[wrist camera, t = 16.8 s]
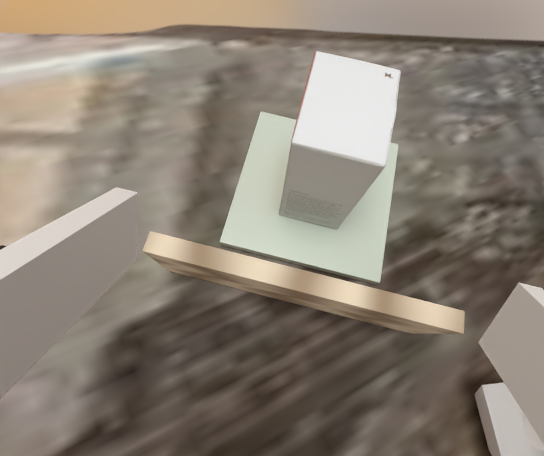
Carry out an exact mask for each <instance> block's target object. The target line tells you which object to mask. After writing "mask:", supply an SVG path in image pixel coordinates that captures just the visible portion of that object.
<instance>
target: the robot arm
mask: <svg viewBox="0 0 544 456" xmlns="http://www.w3.org/2000/svg"><path fill="white" fill-rule="evenodd" d="M137 224H138V192H133V191H129V190H125V189H121V188H117V187H116V188H114V189H113V190H111V191H109V192H107V193H105V194H103V195H101V196H99V197H98V198H96V199H94V200H92V201H90V202H88V203H86V204H85V205H83V206H81V207H79V208H77V209H75V210H73V211H72V212H70V213H68V214H66V215H64V216H62V217H60V218H58V219H57V220H55V221H53V222H51V223H49V224H47V225H45V226H44V227H42V228H40V229H38V230H36V231H34V232H32V233H31V234H29V235H27V236H25V237H23V238H21V239H19V240H18V241H16V242H14V243H12V244H10V245H8V246H3V245H2V246H0V399H1V398H2V397H3V396H4V395H5V394H6V393H7V392H8V391H9V390H10V388H11V387H12V386H13V385H14V384H15V383H16V382H17V381H18V380H19V379H20V378H21V377H22V376H23V375H24V374H25V373H26V372H27V371H28V370H29V369H30V368H31V367H32V366H33V365H34V364H35V363H36V362H37V361H38V360H39V359H40V358H41V357H42V356H43V355H44V354H45V353H46V352H47V351H48V350H49V349H50V348H51V347H52V346H53V345H54V344H55V343H56V342H57V341H58V340H59V339H60V338H61V337H62V336H63V335H64V334H65V333H66V332H67V331H68V330H69V329H70V328H71V327H72V326H73V325H74V324H75V323H76V322H77V320H78V319H79V318H80V317H81V316H82V315H83V314H84V313H85V312H86V311H87V310H88V309H89V308H90V307H91V306H92V305H93V304H94V303H95V302H96V301H97V300H98V299H99V298H100V297H101V296H102V295H103V294H104V293H105V292H106V291H107V290H108V289H109V288H110V287H111V286H112V285H113V284H114V283H115V282H116V281H117V280H118V279H119V278H120V277H121V276H122V275H123V274H124V273H125V272H126V271H127V270H128V269H129V268H130V267H131V266H132V265H133V264H134V263H135V262H136V261H137ZM479 344H480V346H481V347H482V349H483V350H484V352H485V353H486V355H487V357H488V358H489V360H490V361H491V363H492V364H493V366H494V368H495V369H496V371H497V372H498V374H499V375H500V377H501V378H502V380H503V382H504V383H505V385H506V386H507V388H508V389H509V391H510V393H511V394H512V396H513V397H514V399H515V400H516V402H517V403H518V405H519V407H520V408H521V410H522V411H523V413H524V414H525V416H526V418H527V419H528V421H529V422H530V424H531V425H532V427H533V428H534V430H535V432H536V433H537V435H538V436H539V438H540V439H541V441H542V443H543V444H544V290H543V289H542V288H539V287H535V286H531V285H526V284H522V283H518V284H517V286H516V287H515V289H514V290H513V292H512V293H511V295H510V296H509V298H508V299H507V301H506V302H505V304H504V305H503V307H502V308H501V310H500V311H499V313H498V314H497V315H496V317H495V318H494V320H493V321H492V323H491V324H490V326H489V327H488V329H487V330H486V332H485V333H484V335H483V336H482V338H481V339H480V341H479Z"/></svg>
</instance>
